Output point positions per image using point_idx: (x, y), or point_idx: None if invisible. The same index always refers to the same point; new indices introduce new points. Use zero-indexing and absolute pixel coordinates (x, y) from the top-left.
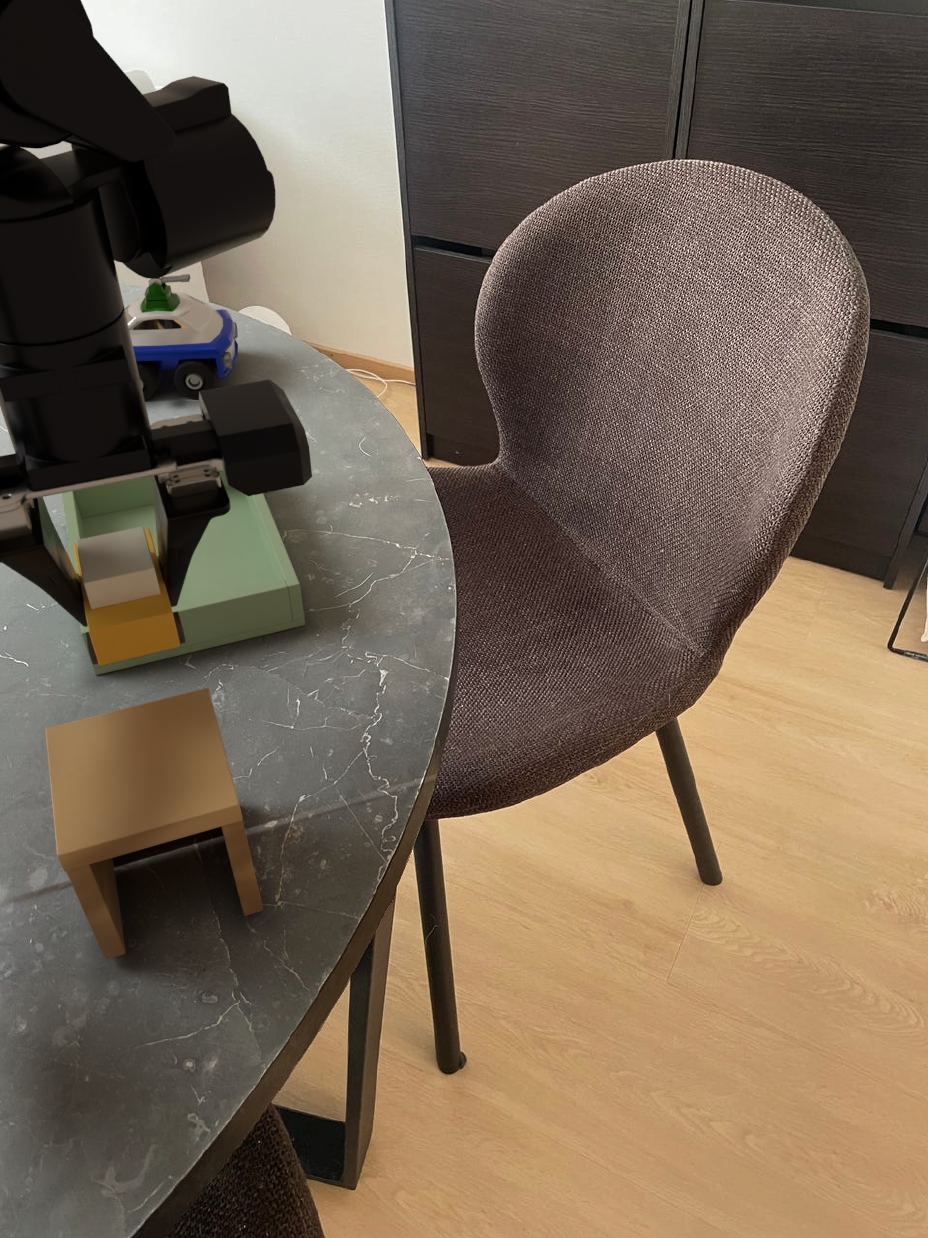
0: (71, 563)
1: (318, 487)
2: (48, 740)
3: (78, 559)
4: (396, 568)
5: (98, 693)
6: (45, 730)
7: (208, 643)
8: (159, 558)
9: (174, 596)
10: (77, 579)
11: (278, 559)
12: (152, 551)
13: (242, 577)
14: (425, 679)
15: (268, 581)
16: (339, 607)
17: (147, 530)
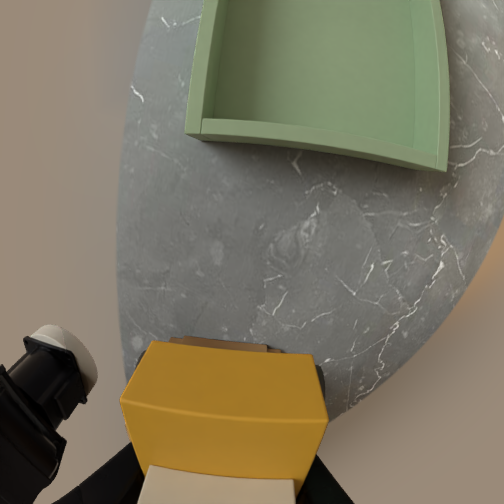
0: (128, 493)
1: (461, 6)
2: (129, 435)
3: (137, 448)
4: (495, 145)
5: (197, 167)
6: (125, 425)
7: (324, 151)
8: (302, 499)
9: None
10: (141, 483)
11: (440, 116)
12: (300, 478)
13: (384, 73)
14: (457, 286)
15: (406, 94)
16: (448, 163)
17: (321, 430)
